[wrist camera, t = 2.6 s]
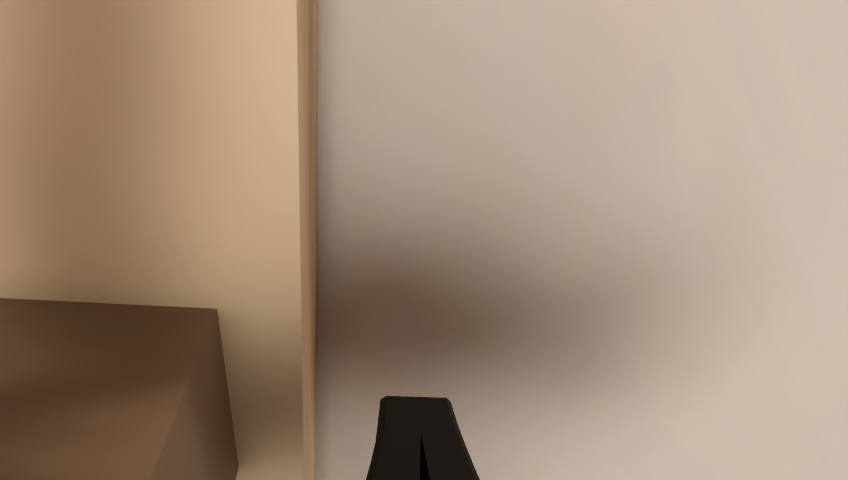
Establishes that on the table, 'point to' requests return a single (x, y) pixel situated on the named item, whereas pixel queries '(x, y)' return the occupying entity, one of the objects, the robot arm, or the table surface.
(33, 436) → the walnut block
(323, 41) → the table surface
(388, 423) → the robot arm
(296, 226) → the wooden compartment tray
